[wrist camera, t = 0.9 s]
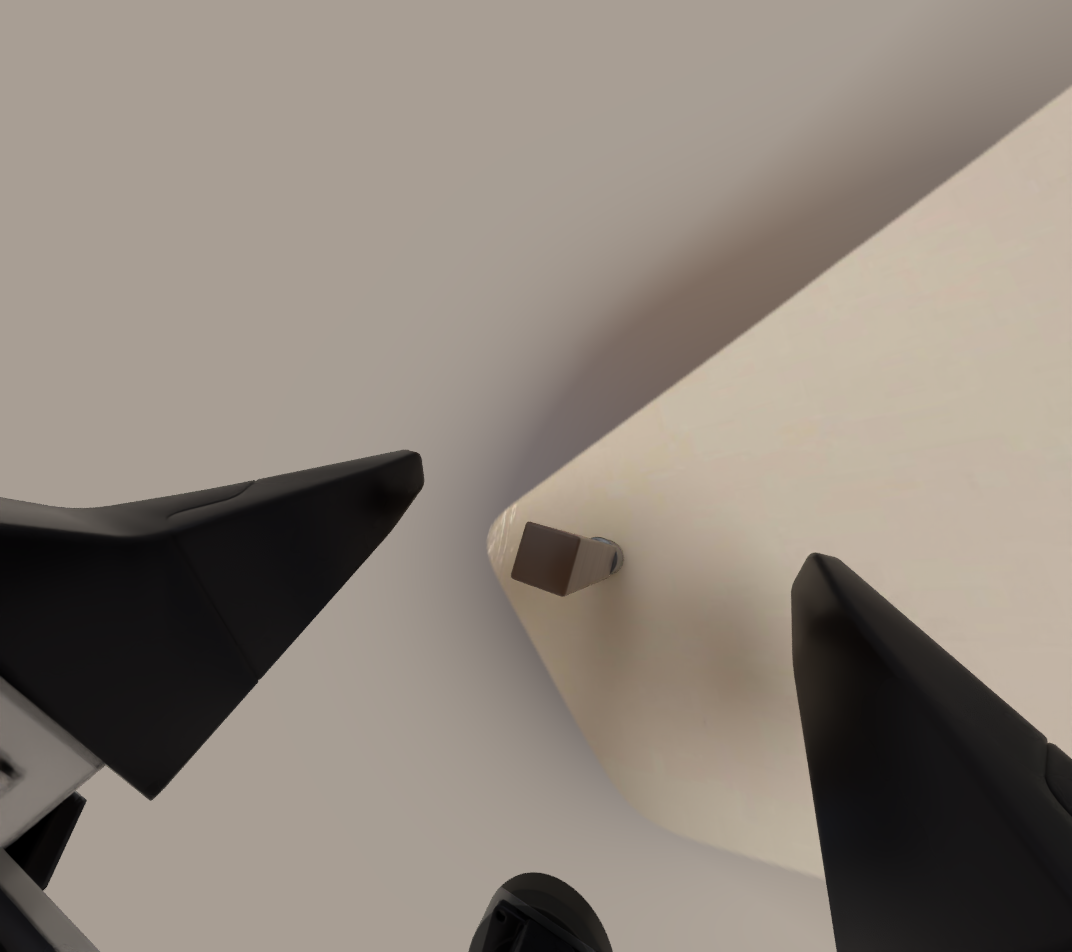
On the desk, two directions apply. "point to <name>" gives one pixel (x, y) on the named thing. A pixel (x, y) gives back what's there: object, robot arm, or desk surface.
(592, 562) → the brown lever handle
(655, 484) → the desk surface
